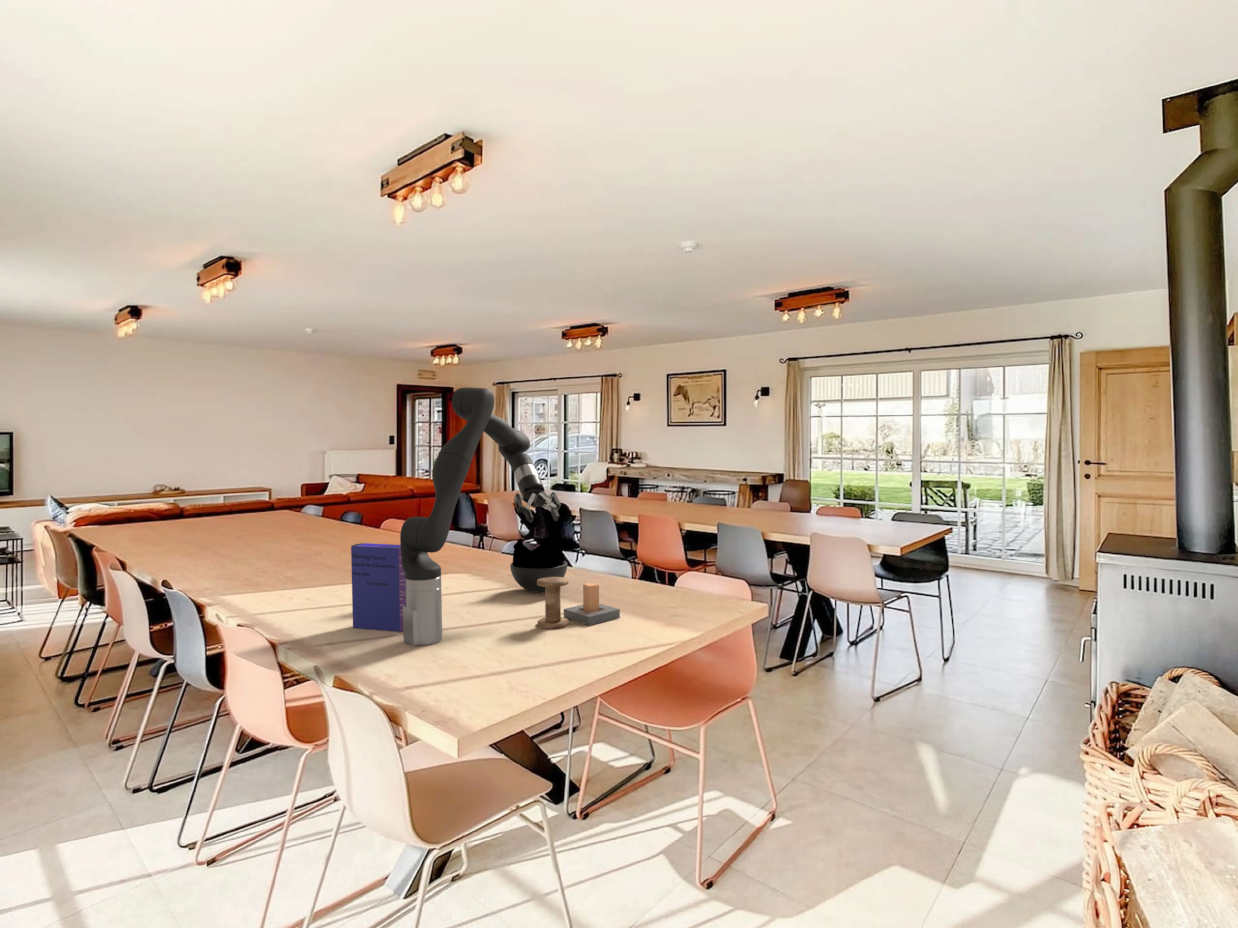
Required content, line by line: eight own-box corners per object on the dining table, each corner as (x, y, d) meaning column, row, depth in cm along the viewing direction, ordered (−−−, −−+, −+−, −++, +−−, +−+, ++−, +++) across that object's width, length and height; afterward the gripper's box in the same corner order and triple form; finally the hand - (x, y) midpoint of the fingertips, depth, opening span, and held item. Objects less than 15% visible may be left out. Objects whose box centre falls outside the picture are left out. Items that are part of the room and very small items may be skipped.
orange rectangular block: (588, 619, 193) (588, 586, 193) (583, 616, 196) (583, 584, 196) (599, 617, 195) (598, 584, 195) (593, 615, 198) (593, 582, 198)
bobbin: (549, 630, 182) (549, 585, 181) (531, 624, 188) (530, 580, 188) (574, 624, 188) (574, 580, 187) (556, 618, 194) (555, 575, 194)
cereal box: (415, 627, 186) (414, 544, 185) (406, 632, 181) (404, 547, 180) (363, 623, 190) (361, 542, 189) (352, 628, 186) (351, 545, 185)
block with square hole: (589, 625, 187) (589, 616, 187) (563, 617, 196) (563, 608, 196) (619, 617, 195) (619, 609, 195) (593, 609, 204) (593, 601, 204)
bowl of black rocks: (578, 589, 232) (578, 537, 231) (543, 601, 215) (543, 545, 214) (535, 582, 243) (534, 533, 242) (498, 593, 226) (497, 540, 225)
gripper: (511, 474, 204) (526, 513, 194) (552, 473, 211) (568, 511, 202) (505, 490, 208) (519, 529, 199) (545, 488, 216) (561, 526, 206)
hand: (544, 520), depth 200 cm, fingers open, 8 cm apart
